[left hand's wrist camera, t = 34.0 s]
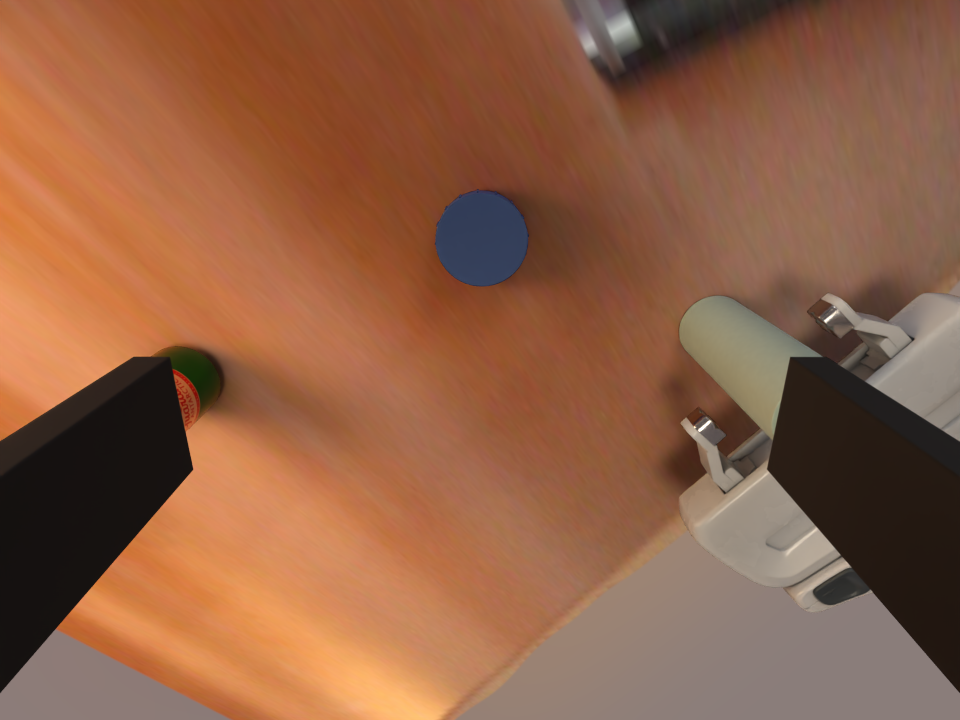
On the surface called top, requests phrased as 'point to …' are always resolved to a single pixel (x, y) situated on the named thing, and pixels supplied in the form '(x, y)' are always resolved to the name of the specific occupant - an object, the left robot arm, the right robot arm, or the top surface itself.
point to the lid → (481, 238)
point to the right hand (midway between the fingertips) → (754, 363)
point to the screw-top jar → (741, 354)
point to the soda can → (192, 382)
